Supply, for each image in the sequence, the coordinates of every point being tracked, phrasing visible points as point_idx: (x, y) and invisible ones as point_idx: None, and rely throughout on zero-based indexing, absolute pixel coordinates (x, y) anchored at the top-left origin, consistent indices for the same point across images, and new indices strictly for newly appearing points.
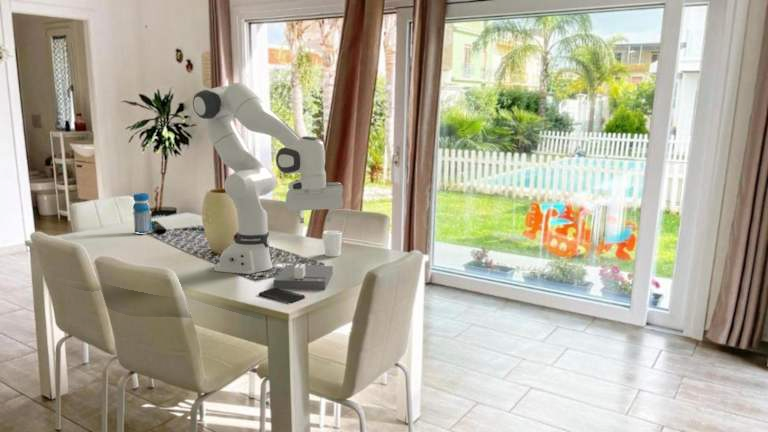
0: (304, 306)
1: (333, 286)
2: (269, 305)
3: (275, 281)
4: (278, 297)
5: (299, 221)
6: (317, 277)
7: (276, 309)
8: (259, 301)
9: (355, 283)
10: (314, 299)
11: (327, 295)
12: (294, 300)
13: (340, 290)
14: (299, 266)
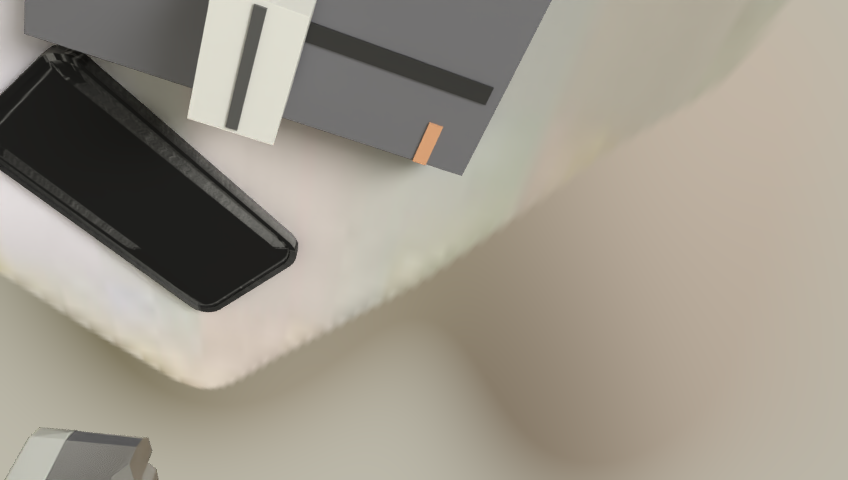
0: (287, 349)
1: (544, 83)
2: (94, 300)
3: (46, 35)
4: (129, 234)
5: (28, 448)
6: (425, 72)
7: (142, 351)
8: (17, 235)
9: (743, 58)
10: (353, 280)
11: (444, 241)
12: (232, 300)
13: (558, 179)
14: (240, 107)
